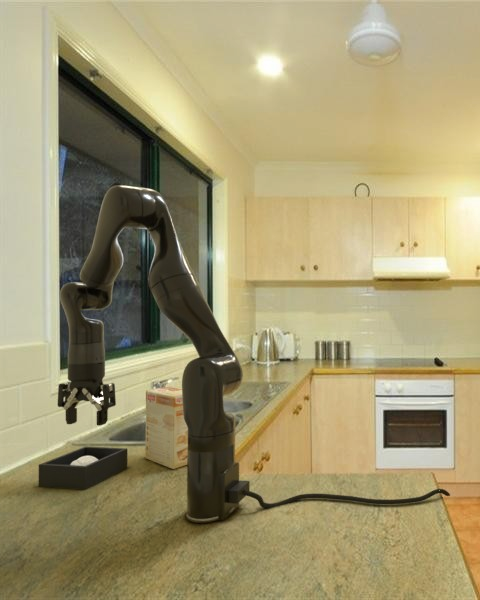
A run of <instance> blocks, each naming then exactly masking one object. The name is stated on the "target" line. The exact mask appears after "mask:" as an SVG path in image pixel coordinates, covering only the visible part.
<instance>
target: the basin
mask: <svg viewBox="0 0 480 600" xmlns="http://www.w3.org/2000/svg"><path fill="white" fill-rule="evenodd" d="M83 456H93V457H95V458H97V459H98V461H95V462H93V463H91V464H89V465H86V466H78V465H70V464H71V463H72V462H73V461H75V460H77V459H79V458H80V457H83ZM126 469H127V470H128V448H126V447H125V448H123V447H105V446H104V447H103V446H83V447H81V448H78V449H75V450H72V451H69V452H68V453H65V454H62V455H60V456H57V457H55V458H53V459H50V460H47V461H44V462H42V463H39V464H38V487H39V488H40V487H41V488H55V489H68V490H84V491H85V490H87V489H89V488H92V487H93V486H95V485H97V484H99V483H101V482H103V481H105V480H107V479H109V478H111V477H113V476H115V475H117V474H118V473H121V472H123V471H125V470H126Z"/></svg>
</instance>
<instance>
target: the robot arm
mask: <svg viewBox="0 0 480 600" xmlns="http://www.w3.org/2000/svg"><path fill="white" fill-rule="evenodd" d="M124 229H133V230H134V229H136V230H137V229H139V230H146V231H147V232H148V233H149V235H150V238H151V240H152V244H153V246H154V254H153V258H152V261H151V264H150V267H149V271H148V278H147V279H148V286H149V289H150V291H151V293H152V296H153V298H154V301H155V303H156V305H157V307H158V308H159V310H160V312H161V313H162V315H163V316H164V317H166V319H167V320H168V321H169V322H170V323H172V325H173V326H174V327H176V328H177V329H178V330H179V331H180V332H182V334H184V335H185V336H186V337H187V339H188V340H189V341H190V342H191V344H192V345H193V348H194V349H195V351H196V352H197V355H198V357H195V358H193V359H192V360H190V361H189V362H188V363H186V366H185V367H184V369H183V373H182V378H181V389H182V400H183V416H184V420H185V422H186V425H187V428H188V448H187V465H186V466H187V467H186V511H185V512H186V513H185V514H186V520H188V521H189V522H192V523H195V524H196V523H197V524H206V523H212V522H217V521H225V520H226V519H227V518H228V517H229V516H230V515H231V514H232V513H233V512H234V511H235V510H236V509H237V508H239V506H240V502H241V501H242V500H243V499H244V498H246V496H247V497H250V498H252V499H255V500H256V501H257V502H258V504H259V506H260V507H261V508H264V509H272V508H276V507H279V506H283V505H287V504H291V503H293V502H296V501H299V500H306V499H327V500H336V501H337V500H339V501H349V502H357V503H363V504H371V505H402V504H403V505H404V504H411V503H419V502H423V501H425V500H428V499H430V498H432V497H434V496H435V495H438V494H441V495H444V496H446V497H450V496H451V493H450V492H448V491H447V490H446V489H443V488H436V489H433V490H431V491H428V493H425V494H423V495H421V496H416V497H409V498H395V499H383V498H381V499H380V498H379V499H378V498H367V497H359V496H354V495H353V496H352V495H344V494H343V495H341V494H330V493H302V494H298V495H295V496H291V497H289V498H287V499H284V500H281V501H279V502H274V503H268V502H265V501H264V499H263V497H262V496H261V495H260V494H258V493H256V492H253V491H250V483H251V481H250V480H240V462H238V461H236V416H235V415H234V414H233V413H232V412H230V411H229V412H228V411H225V408H224V407H225V406H224V396H227V395H229V394H233V393H234V392H236V391H237V390H239V387H241V385H242V383H243V380H244V379H243V378H244V374H243V373H244V372H243V367H242V364H241V362H240V360H239V358H238V356H237V355H236V353H235V351H234V350H233V348H232V347H231V345H230V343H229V342H228V340H227V338H226V337H225V335H224V333H223V332H222V330H221V328H220V327H219V326H220V325H219V324H218V321H217V320H216V318H215V316H214V313H213V311H212V309H211V307H210V305H209V303H208V301H207V299H206V297H205V295H204V291H203V290H202V287H201V285H200V283H199V281H198V279H197V276H196V274H195V272H194V270H193V268H192V267H191V265H190V263H189V260H188V258H187V256H186V253H185V251H184V249H183V246H182V244H181V241H180V239H179V236H178V234H177V230H176V227H175V224H174V221H173V218H172V215H171V213H170V209H169V207H168V204H167V202H166V200H165V198H164V197H163V196H162V194H161V193H160V192H159V191H158V190H155V189H152V188H148V187H139V186H131V185H120V184H117V185H113V186H111V187H109V188H108V190H107V191H106V193H105V195H104V197H103V200H102V203H101V207H100V211H99V215H98V219H97V223H96V228H95V233H94V237H93V242H92V246H91V248H90V252H89V253H88V255H87V258H86V260H85V262H84V264H83V265H82V268H81V269H80V273H79V279H80V281H81V282H79V281H78V282H77V281H73V282H67V283H65V284H63V286H62V287H61V289H60V291H59V301H60V303H61V306H62V309H63V310H64V314H65V317H66V321H67V325H68V333H69V334H68V341H69V342H68V350H67V382H62V383H59V384H58V388H57V389H58V390H57V407H58V408H63V409H64V410H65V422H66V424H67V425H73V424H76V423H77V421H78V408H77V407H78V405H79V403H80V402H83V401H85V402H90V404H91V405H94V407H95V409H96V426H99V427H100V426H103V425H106V424H107V422H108V418H109V417H108V416H109V415H108V414H109V412H108V411H109V409H110V408H113V407H115V406H116V405H117V401H116V385H115V384H116V383H114V382H111V383H110V382H109V383H104V381H103V380H104V378H105V376H106V348H105V331H104V330H105V325H104V322H103V321H102V320H100V319H96V318H90V317H89V318H88V317H85V315H84V314H83V313H82V311H100V310H105V309H107V308H108V307H109V306H110V305H111V304H112V302H113V290H114V284H115V281H116V279H117V277H118V275H119V274H120V272H121V270H122V267H123V265H124V254H123V251H122V249H121V246H120V244H119V241H118V236H119V235H120V233H121V232H122V231H123V230H124ZM439 490H440V491H439Z"/></svg>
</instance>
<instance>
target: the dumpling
mask: <svg viewBox="0 0 480 600" xmlns="http://www.w3.org/2000/svg"><path fill="white" fill-rule="evenodd" d="M95 461H98V459H97V458H95V457H93V456H83V457H80V458H79V459H77V460H75V461H73V462H72V463H71V464H70V465H78V466H86V465H89V464H91V463H93V462H95Z"/></svg>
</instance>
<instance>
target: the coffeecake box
mask: <svg viewBox="0 0 480 600" xmlns="http://www.w3.org/2000/svg"><path fill="white" fill-rule="evenodd" d="M187 448H188V428H187V425H186V422H185V420H184V416H183V400H182V388H178V387H173V386H163V387H158V388H153V389H147V390H145V447H144V449H145V450H144V451H145V453H144V459H146V460H149V461H152V462H154V463H157V464H159V465H162V466H164V467H167V468H168V469H172V470H176V469H178V468H181V467H185V466H187Z"/></svg>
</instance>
